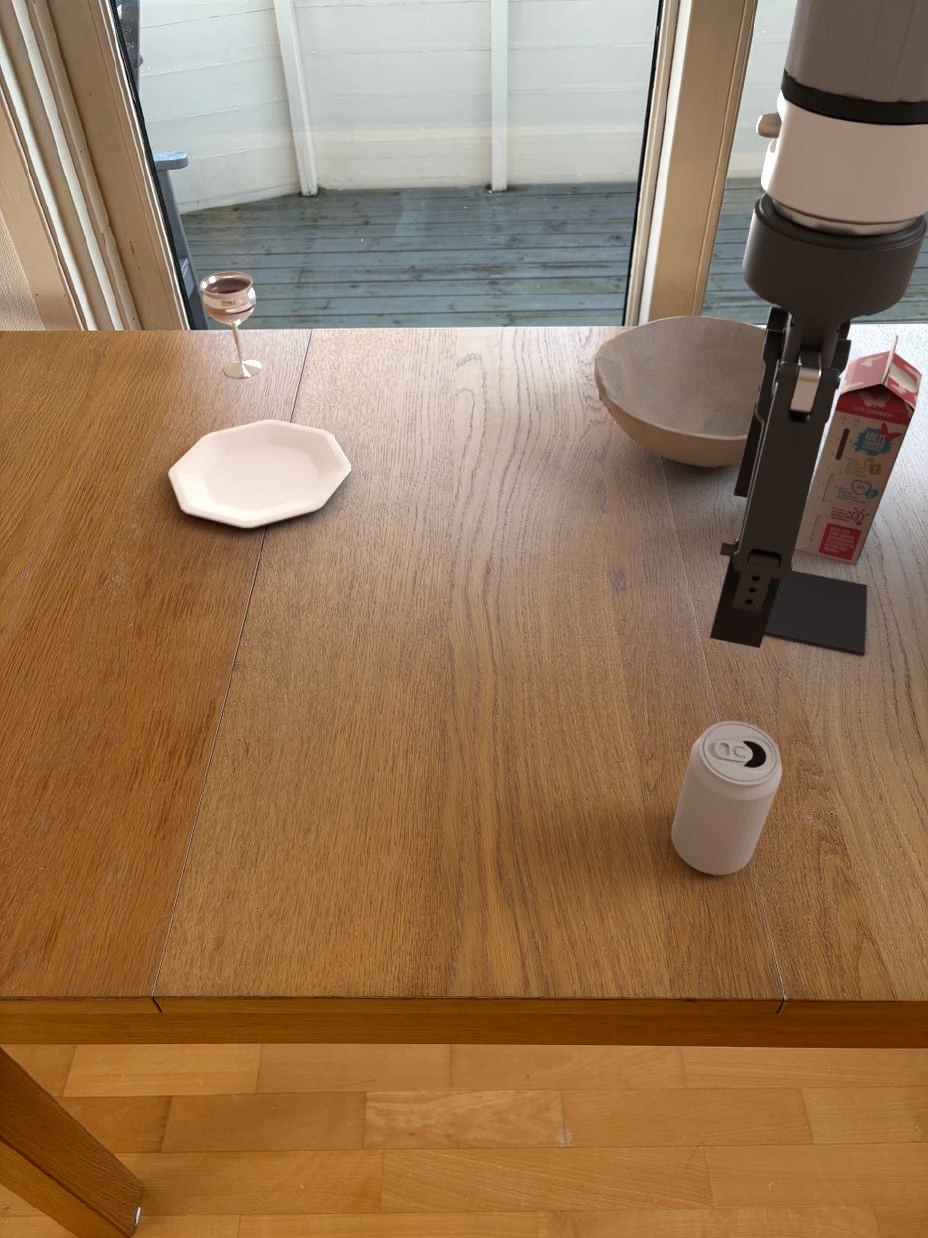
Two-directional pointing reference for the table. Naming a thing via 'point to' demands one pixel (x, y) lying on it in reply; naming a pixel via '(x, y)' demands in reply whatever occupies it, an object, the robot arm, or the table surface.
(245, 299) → the wineglass
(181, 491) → the plate
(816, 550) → the juice carton
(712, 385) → the bowl
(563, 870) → the table surface
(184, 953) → the table surface
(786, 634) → the coaster
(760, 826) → the beverage can
